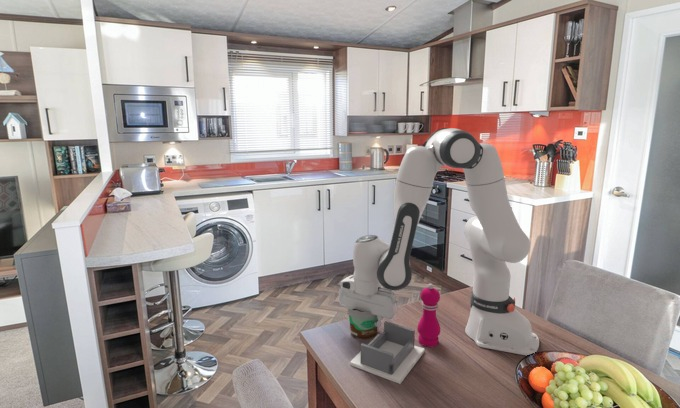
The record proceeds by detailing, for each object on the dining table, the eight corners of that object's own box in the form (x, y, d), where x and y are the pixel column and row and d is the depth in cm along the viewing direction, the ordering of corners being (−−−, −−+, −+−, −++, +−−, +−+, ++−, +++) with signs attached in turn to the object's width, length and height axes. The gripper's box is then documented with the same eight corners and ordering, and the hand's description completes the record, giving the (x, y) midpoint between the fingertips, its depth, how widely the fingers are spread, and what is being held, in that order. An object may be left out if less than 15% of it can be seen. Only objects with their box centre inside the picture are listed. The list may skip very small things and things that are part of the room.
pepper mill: (440, 349, 122) (443, 289, 118) (416, 346, 124) (418, 287, 120) (439, 336, 129) (442, 280, 125) (417, 334, 131) (419, 278, 127)
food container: (356, 344, 125) (356, 316, 123) (347, 335, 131) (347, 308, 128) (388, 334, 131) (388, 307, 129) (378, 326, 136) (378, 299, 134)
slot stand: (424, 351, 121) (425, 331, 120) (400, 384, 106) (400, 361, 105) (378, 336, 130) (378, 317, 128) (350, 364, 115) (349, 343, 113)
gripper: (400, 287, 124) (399, 327, 127) (345, 274, 135) (346, 311, 138) (391, 295, 119) (391, 336, 122) (335, 281, 130) (336, 319, 133)
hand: (366, 323), depth 130 cm, fingers open, 7 cm apart
